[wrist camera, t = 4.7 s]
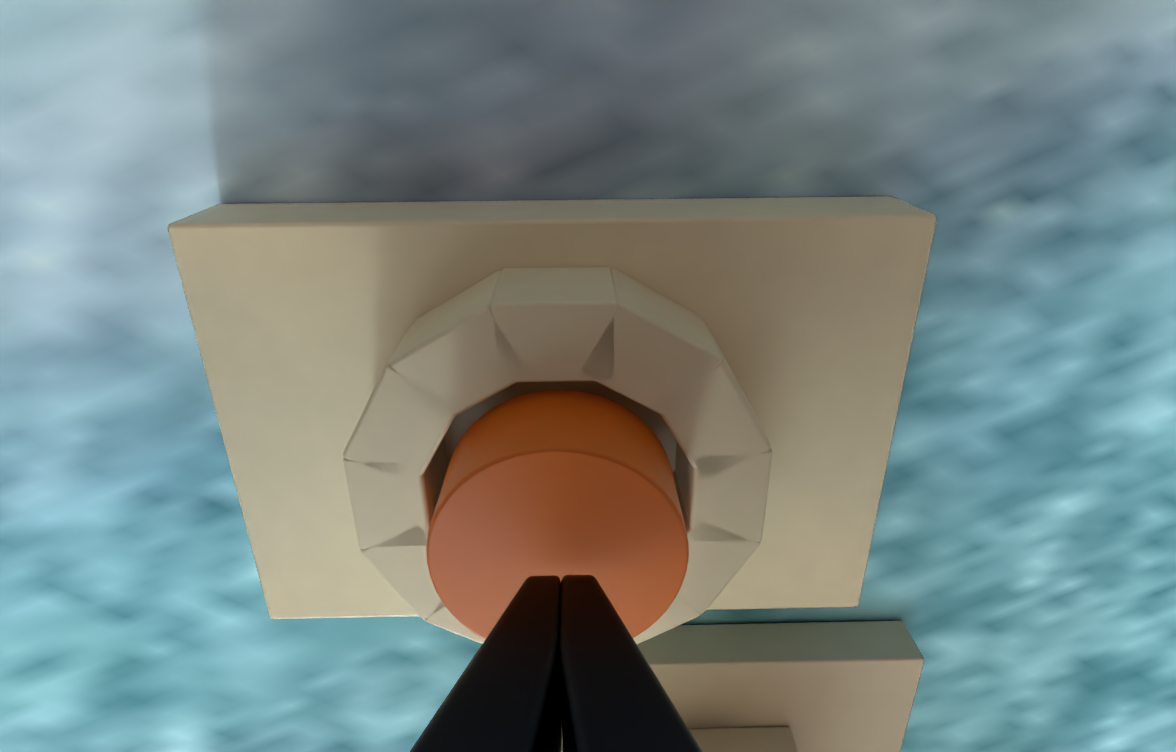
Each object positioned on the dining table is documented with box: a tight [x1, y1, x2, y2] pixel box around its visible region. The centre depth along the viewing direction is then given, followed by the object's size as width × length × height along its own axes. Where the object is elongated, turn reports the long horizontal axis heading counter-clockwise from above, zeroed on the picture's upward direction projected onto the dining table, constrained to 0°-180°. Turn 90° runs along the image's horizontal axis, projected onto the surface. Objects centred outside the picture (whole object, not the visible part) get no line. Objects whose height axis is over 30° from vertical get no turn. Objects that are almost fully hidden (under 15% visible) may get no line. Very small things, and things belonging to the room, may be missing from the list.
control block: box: [168, 196, 937, 644], centre depth 12 cm, size 12×8×4 cm, turn 90°
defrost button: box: [426, 390, 689, 639], centre depth 10 cm, size 4×4×2 cm
